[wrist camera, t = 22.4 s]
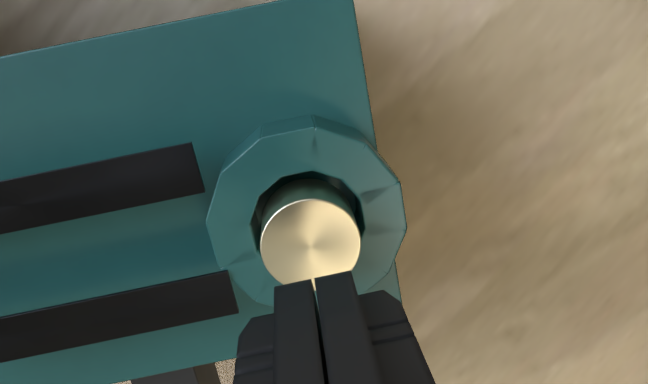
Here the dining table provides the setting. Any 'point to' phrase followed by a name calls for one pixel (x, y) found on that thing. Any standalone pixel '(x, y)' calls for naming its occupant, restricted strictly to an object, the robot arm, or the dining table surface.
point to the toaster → (214, 163)
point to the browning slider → (184, 376)
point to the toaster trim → (97, 198)
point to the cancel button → (308, 232)
